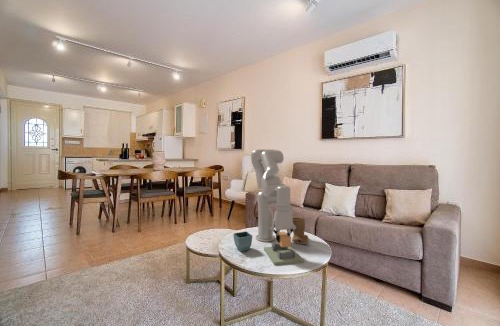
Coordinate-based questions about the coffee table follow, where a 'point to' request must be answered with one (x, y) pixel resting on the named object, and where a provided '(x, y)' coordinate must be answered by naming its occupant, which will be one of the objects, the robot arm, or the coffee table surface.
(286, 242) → the tall tan rectangular prism
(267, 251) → the green bracket base plate
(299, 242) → the brown boot
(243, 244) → the flower pot
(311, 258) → the coffee table surface
